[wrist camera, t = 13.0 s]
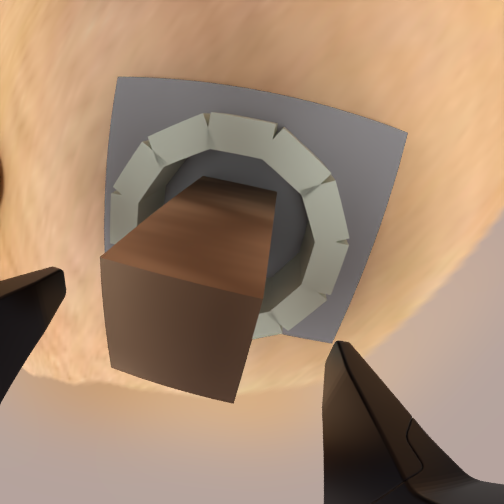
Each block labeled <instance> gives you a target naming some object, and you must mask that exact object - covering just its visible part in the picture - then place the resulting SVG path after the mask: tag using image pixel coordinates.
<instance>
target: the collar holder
mask: <svg viewBox="0 0 504 504" xmlns="http://www.w3.org/2000/svg"><path fill="white" fill-rule="evenodd" d="M407 134H408V133H407V132H404V131H402V130H399V129H396V128H394V127H391V126H388V125H386V124H383V123H380V122H377V121H374V120H371V119H368V118H365V117H362V116H359V115H356V114H353V113H349V112H346V111H343V110H339V109H336V108H332V107H329V106H325V105H322V104H318V103H314V102H310V101H306V100H302V99H298V98H293V97H289V96H285V95H280V94H275V93H270V92H265V91H260V90H254V89H249V88H243V87H237V86H230V85H223V84H216V83H208V82H199V81H190V80H179V79H166V78H147V77H118V79H117V84H116V90H115V97H114V103H113V110H112V117H111V125H110V134H109V144H108V155H107V168H106V184H105V215H104V241H105V253H106V252H107V251H108V250H109V249H110V248H111V247H113V246H114V245H115V244H116V243H117V242H118V241H120V240H121V239H122V238H123V237H124V236H126V235H127V234H128V233H129V232H130V231H132V230H133V229H134V228H135V227H137V226H138V225H139V224H140V223H142V222H143V221H144V220H145V219H147V218H148V217H149V216H150V215H152V214H153V213H154V212H155V211H157V210H158V209H159V208H161V207H162V206H163V205H164V204H166V203H167V202H168V201H170V200H171V199H172V198H174V197H175V196H176V195H178V194H179V193H180V192H182V191H183V190H184V189H186V188H187V187H188V186H190V185H191V184H192V183H194V182H195V181H196V180H198V179H199V178H201V177H202V176H206V177H211V178H216V179H221V180H226V181H231V182H235V183H240V184H245V185H249V186H254V187H258V188H263V189H267V190H271V191H276V192H277V196H276V205H275V213H274V220H273V228H272V236H271V244H270V252H269V259H268V267H267V274H266V282H265V289H264V296H263V301H262V305H261V309H260V312H259V316H258V320H257V323H256V327H255V330H254V334H253V338H252V339H257V338H262V337H267V336H273V335H278V334H284V335H289V336H294V337H299V338H305V339H310V340H316V341H321V342H327V343H332V342H333V340H334V338H335V335H336V333H337V331H338V329H339V327H340V325H341V322H342V320H343V318H344V316H345V313H346V311H347V309H348V307H349V304H350V302H351V300H352V297H353V295H354V293H355V290H356V288H357V285H358V283H359V280H360V278H361V275H362V273H363V270H364V268H365V265H366V263H367V260H368V257H369V255H370V252H371V250H372V247H373V244H374V241H375V239H376V236H377V233H378V230H379V227H380V224H381V222H382V219H383V216H384V213H385V210H386V207H387V204H388V201H389V197H390V194H391V191H392V188H393V185H394V181H395V178H396V175H397V171H398V168H399V164H400V161H401V157H402V153H403V150H404V146H405V142H406V138H407Z"/></svg>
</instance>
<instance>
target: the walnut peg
mask: <svg viewBox="0 0 504 504" xmlns="http://www.w3.org/2000/svg"><path fill="white" fill-rule="evenodd" d="M276 196H277V192H276V191H271V190H267V189H263V188H258V187H254V186H249V185H245V184H240V183H235V182H231V181H226V180H221V179H216V178H211V177H206V176H202V177H201V178H199V179H198V180H196V181H195V182H194V183H192V184H191V185H190V186H188V187H187V188H186V189H184V190H183V191H182V192H180V193H179V194H178V195H176V196H175V197H174V198H172V199H171V200H170V201H168V202H167V203H166V204H164V205H163V206H162V207H161V208H159V209H158V210H157V211H155V212H154V213H153V214H152V215H150V216H149V217H148V218H147V219H145V220H144V221H143V222H142V223H140V224H139V225H138V226H137V227H135V228H134V229H133V230H132V231H130V232H129V233H128V234H127V235H126V236H124V237H123V238H122V239H121V240H120V241H118V242H117V243H116V244H115V245H114V246H113V247H111V248H110V249H109V250H108V251H107V252H106V253H104V254H103V255H102V256H101V257H100V267H101V284H102V297H103V308H104V318H105V327H106V335H107V342H108V349H109V356H110V362H111V367H112V368H114V369H117V370H120V371H122V372H125V373H128V374H131V375H134V376H137V377H139V378H142V379H145V380H148V381H152V382H155V383H158V384H161V385H164V386H168V387H171V388H174V389H178V390H181V391H185V392H189V393H192V394H196V395H200V396H204V397H208V398H212V399H216V400H220V401H224V402H229V403H234V400H235V397H236V393H237V390H238V387H239V383H240V380H241V376H242V373H243V369H244V366H245V362H246V359H247V355H248V352H249V348H250V345H251V341H252V338H253V334H254V330H255V327H256V323H257V320H258V316H259V312H260V309H261V305H262V301H263V296H264V289H265V282H266V274H267V267H268V259H269V252H270V244H271V236H272V228H273V220H274V213H275V205H276Z"/></svg>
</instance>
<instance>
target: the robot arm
mask: <svg viewBox="0 0 504 504" xmlns="http://www.w3.org/2000/svg"><path fill="white" fill-rule="evenodd" d="M65 295H66V286H65V278H64V272H63V270H61V269H59V268H56V267H49V268H45V269H42V270H38V271H34V272H31V273H27V274H24V275H20V276H17V277H13V278H10V279H6V280H3V281H0V404H1V401H2V400H3V398H4V396H5V395H6V393H7V391H8V389H9V388H10V386H11V384H12V382H13V381H14V379H15V377H16V376H17V374H18V372H19V371H20V369H21V368H22V366H23V364H24V363H25V361H26V360H27V358H28V356H29V355H30V353H31V352H32V350H33V349H34V347H35V346H36V344H37V343H38V341H39V340H40V338H41V337H42V335H43V334H44V332H45V330H46V329H47V327H48V325H49V324H50V322H51V320H52V318H53V316H54V315H55V313H56V311H57V309H58V308H59V306H60V304H61V302H62V301H63V299H64V297H65ZM322 418H323V419H322V420H323V450H324V504H504V485H503V484H496V483H489V482H484V481H480V480H477V479H474V478H472V477H471V476H469V475H468V474H466V473H465V472H464V471H463V470H462V469H461V468H460V467H459V466H458V465H457V464H456V463H455V462H454V461H453V460H452V459H451V458H450V457H449V456H448V455H447V454H446V453H445V452H444V451H443V450H442V449H441V448H440V447H439V446H438V445H437V444H436V443H435V442H434V441H433V440H432V439H431V438H430V437H429V436H428V434H426V432H425V431H424V430H423V429H422V428H421V426H420V425H419V424H418V423H417V422H416V420H415V419H414V418H412V416H411V415H410V413H409V412H408V411H407V410H406V409H405V407H404V406H403V405H402V404H401V403H400V401H399V400H398V399H397V398H396V397H395V396H394V394H393V393H392V392H391V391H390V390H389V388H387V386H386V385H385V384H384V382H383V381H382V380H381V379H380V378H379V377H378V375H377V374H376V373H375V372H374V371H373V370H372V368H371V367H370V366H369V365H368V364H367V363H366V361H365V360H364V359H363V358H362V357H361V355H360V354H359V353H358V352H357V351H356V350H355V348H354V347H353V346H352V345H351V344H350V343H349V342H344V341H336V342H335V343H334V345H333V347H332V349H331V351H330V354H329V356H328V358H327V360H326V363H325V373H324V390H323V402H322Z"/></svg>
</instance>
